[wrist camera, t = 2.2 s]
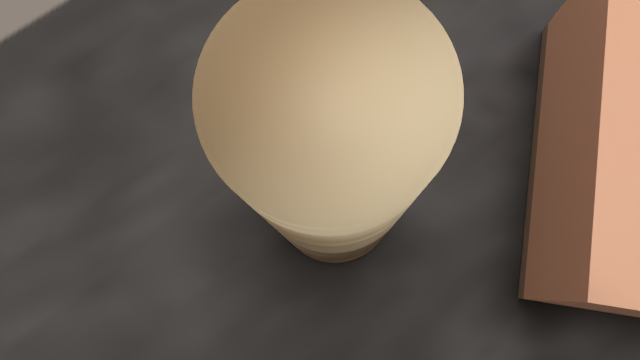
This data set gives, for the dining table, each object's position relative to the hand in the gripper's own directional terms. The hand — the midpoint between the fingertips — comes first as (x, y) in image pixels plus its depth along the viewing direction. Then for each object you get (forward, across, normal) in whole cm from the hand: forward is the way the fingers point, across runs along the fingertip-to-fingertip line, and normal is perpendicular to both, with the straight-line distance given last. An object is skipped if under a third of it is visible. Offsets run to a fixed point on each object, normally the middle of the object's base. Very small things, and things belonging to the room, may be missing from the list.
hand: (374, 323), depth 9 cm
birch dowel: (+10, 0, +5) cm, 11 cm away
